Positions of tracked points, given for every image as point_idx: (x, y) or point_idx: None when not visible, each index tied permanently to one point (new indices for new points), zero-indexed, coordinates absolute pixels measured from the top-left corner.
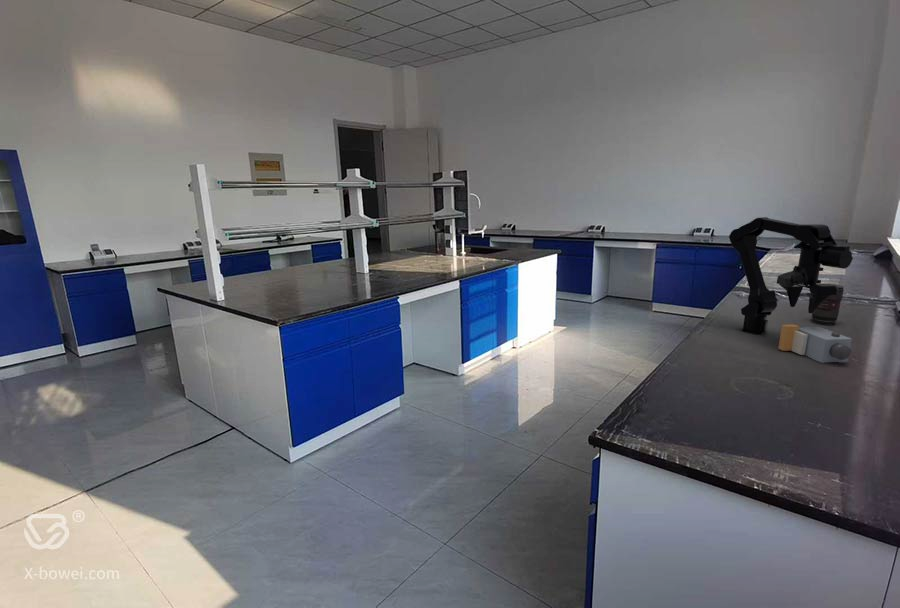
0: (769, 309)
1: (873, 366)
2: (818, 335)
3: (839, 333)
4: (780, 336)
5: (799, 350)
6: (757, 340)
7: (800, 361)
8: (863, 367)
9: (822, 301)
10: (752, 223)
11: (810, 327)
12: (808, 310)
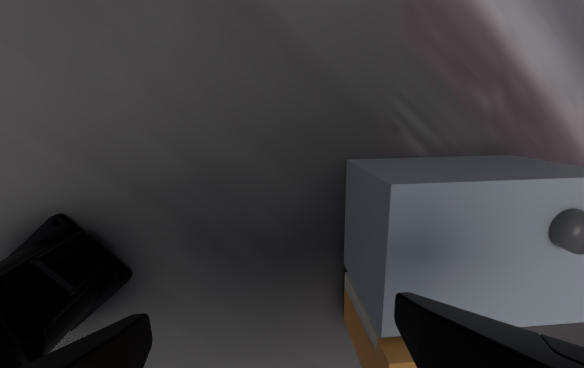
0: (11, 358)
1: (566, 86)
2: (536, 311)
3: None
4: (361, 362)
5: None
6: (221, 325)
7: None
8: (563, 136)
9: None
10: None
11: (391, 251)
12: (408, 345)
